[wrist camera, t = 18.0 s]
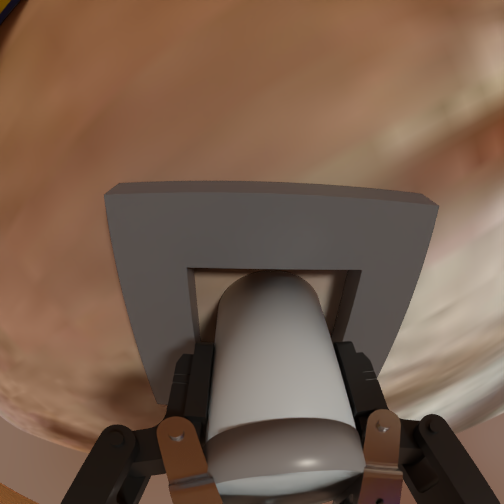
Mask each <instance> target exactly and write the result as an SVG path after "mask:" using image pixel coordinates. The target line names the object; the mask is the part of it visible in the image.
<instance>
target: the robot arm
mask: <svg viewBox="0 0 504 504" xmlns="http://www.w3.org/2000/svg"><path fill="white" fill-rule="evenodd" d="M333 347H334V350H335V354H336V357H337V361H338V364H339V368H340V371H341V375H342V378H343V382H344V385H345V389H346V393H347V396H348V400H349V404H350V408H351V411H352V415H353V419H354V423H355V427H356V430H357V431H358V433H359V436H360V440H361V444H362V449H363V454H364V458H365V463H366V467H364V472H363V473H362V474H361V475H360V476H359V477H358V478H357V479H356V480H355V481H354V482H353V483H352V484H351V485H350V486H349V487H348V488H347V489H345V490H344V491H343V492H342V493H341V494H340V495H339V496H338V497H336V498H335V499H334V500H333V503H332V504H400V498H401V490H402V482H403V480H404V481H405V483H406V485H407V486H408V488H409V490H410V492H411V494H412V495H413V497H414V499H415V501H416V502H417V504H500V502H499V500H498V499H497V497H496V496H495V494H494V492H493V491H492V489H491V488H490V486H489V485H488V483H487V481H486V480H485V478H484V477H483V475H482V474H481V472H480V471H479V469H478V468H477V466H476V465H475V463H474V462H473V460H472V459H471V457H470V456H469V454H468V453H467V451H466V450H465V448H464V447H463V445H462V444H461V442H460V441H459V440H458V438H457V437H456V435H455V434H454V432H453V431H452V430H451V428H450V427H449V425H448V424H447V422H446V421H445V420H444V419H443V418H442V417H440V416H438V415H435V414H430V415H427V416H425V417H423V418H422V420H421V421H414V420H404V419H400V418H398V416H397V415H396V414H395V413H394V412H392V411H390V410H389V409H388V407H387V404H386V401H385V399H384V396H383V393H382V390H381V387H380V385H379V382H378V380H377V377H376V374H375V372H374V369H373V366H372V363H371V361H370V359H369V358H368V357H367V356H366V355H365V354H364V353H363V352H358V353H356V350H355V348H354V345H353V343H352V341H344V342H334V343H333ZM213 356H214V343H211V342H196V344H195V349H194V354H183V355H182V356H181V357H180V358H179V360H178V361H177V362H176V366H175V371H174V376H173V381H172V386H171V391H170V396H169V401H168V406H167V411H166V415H165V417H164V419H163V420H162V422H161V423H159V424H158V425H157V426H155V427H152V428H149V429H143V430H136V431H131V430H130V429H129V428H128V427H126V426H123V425H111V426H109V427H107V428H106V429H104V430H103V432H102V433H101V435H100V436H99V438H98V440H97V441H96V443H95V445H94V446H93V448H92V450H91V451H90V453H89V455H88V457H87V458H86V460H85V462H84V463H83V465H82V467H81V469H80V470H79V472H78V474H77V476H76V478H75V479H74V481H73V483H72V485H71V486H70V488H69V490H68V491H67V493H66V495H65V497H64V499H63V500H62V502H61V504H138V503H139V501H140V499H141V497H142V495H143V492H144V490H145V488H146V486H147V484H148V482H149V479H150V477H151V475H159V474H165V473H166V474H167V477H168V481H169V491H170V494H171V498H172V501H173V504H223V502H222V499H221V497H220V494H219V492H218V489H217V487H216V484H215V482H214V479H213V477H212V476H209V475H208V465H207V462H206V459H205V456H204V454H203V448H204V445H205V438H206V427H207V420H208V408H209V397H210V387H211V376H212V366H213Z"/></svg>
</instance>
